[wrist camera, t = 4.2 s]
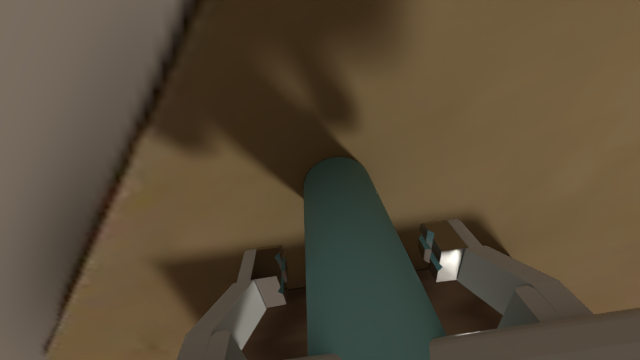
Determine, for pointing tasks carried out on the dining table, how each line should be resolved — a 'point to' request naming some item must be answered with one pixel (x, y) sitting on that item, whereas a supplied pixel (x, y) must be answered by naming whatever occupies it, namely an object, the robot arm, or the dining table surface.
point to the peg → (360, 272)
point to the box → (291, 319)
